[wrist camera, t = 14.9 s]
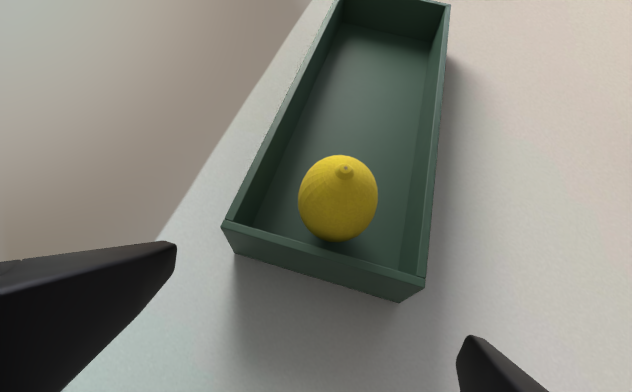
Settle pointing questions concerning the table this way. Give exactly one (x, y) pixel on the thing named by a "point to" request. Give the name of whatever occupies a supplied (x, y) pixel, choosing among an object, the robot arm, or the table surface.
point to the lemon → (337, 198)
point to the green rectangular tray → (355, 147)
